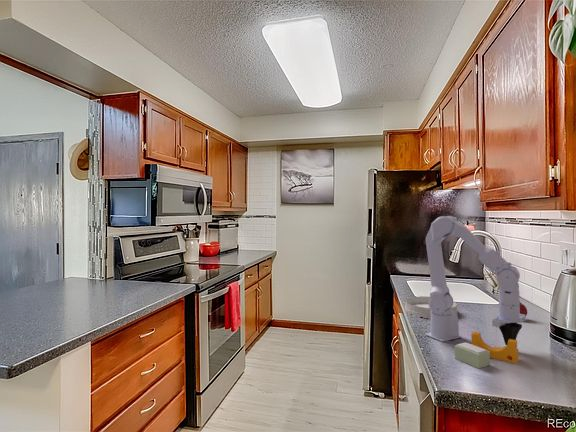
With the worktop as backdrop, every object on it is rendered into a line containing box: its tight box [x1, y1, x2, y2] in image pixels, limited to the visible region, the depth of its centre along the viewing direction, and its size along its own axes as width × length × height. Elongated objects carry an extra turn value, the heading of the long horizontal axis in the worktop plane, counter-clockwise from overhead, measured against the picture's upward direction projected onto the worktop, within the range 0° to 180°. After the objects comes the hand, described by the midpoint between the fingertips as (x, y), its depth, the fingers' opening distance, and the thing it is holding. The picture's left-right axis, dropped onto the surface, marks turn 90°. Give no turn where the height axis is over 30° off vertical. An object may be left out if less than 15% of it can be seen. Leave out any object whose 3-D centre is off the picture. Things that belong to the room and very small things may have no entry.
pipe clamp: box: [471, 331, 519, 364], centre depth 109 cm, size 12×4×6 cm, turn 47°
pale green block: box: [454, 342, 491, 369], centre depth 105 cm, size 5×8×4 cm, turn 26°
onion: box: [520, 301, 528, 316], centre depth 145 cm, size 6×6×8 cm
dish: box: [404, 296, 458, 320], centre depth 157 cm, size 22×22×5 cm
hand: (509, 345), depth 113 cm, fingers closed
